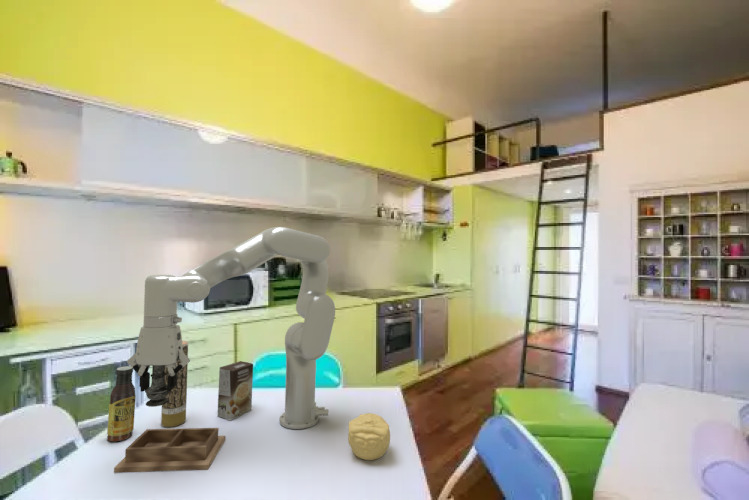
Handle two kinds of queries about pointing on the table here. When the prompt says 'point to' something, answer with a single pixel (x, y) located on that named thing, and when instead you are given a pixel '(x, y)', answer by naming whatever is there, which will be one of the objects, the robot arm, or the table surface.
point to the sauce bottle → (122, 406)
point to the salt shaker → (157, 388)
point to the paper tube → (176, 396)
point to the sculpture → (369, 436)
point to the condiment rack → (172, 450)
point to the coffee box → (235, 389)
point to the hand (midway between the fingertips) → (158, 388)
